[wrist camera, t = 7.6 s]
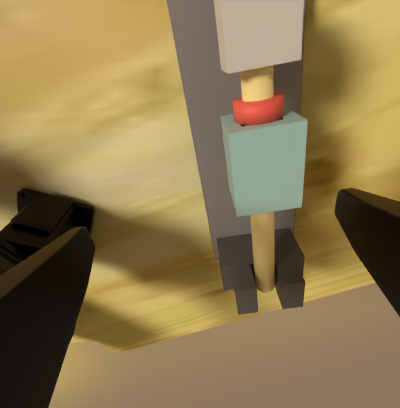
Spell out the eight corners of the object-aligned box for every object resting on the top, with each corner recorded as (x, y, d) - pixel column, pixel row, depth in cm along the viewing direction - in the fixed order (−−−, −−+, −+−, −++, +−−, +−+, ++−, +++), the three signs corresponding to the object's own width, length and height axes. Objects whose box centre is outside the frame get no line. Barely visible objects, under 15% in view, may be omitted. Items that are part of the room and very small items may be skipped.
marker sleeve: (281, 178, 17) (301, 207, 14) (228, 186, 18) (236, 216, 14) (282, 104, 15) (308, 120, 11) (220, 116, 15) (227, 134, 12)
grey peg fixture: (289, 242, 26) (320, 304, 19) (214, 252, 26) (221, 316, 20) (300, -41, 14) (386, -116, 8) (165, -12, 15) (144, -59, 8)
